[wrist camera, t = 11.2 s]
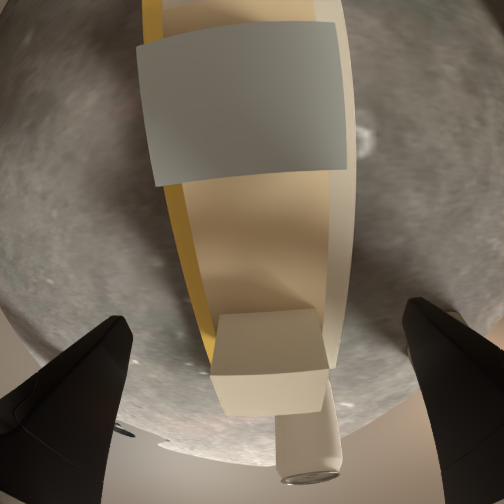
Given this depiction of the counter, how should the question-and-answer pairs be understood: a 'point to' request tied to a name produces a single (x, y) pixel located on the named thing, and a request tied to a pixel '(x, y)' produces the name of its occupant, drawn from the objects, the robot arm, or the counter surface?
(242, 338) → the cream block
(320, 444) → the can
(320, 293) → the tan wooden block
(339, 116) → the light grey block
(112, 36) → the counter surface
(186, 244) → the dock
